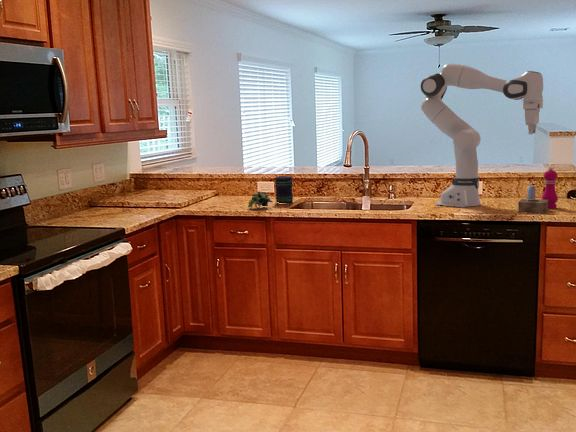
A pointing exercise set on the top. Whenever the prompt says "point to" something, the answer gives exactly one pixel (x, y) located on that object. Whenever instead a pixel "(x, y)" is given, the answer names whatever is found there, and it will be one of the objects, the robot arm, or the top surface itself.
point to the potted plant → (259, 199)
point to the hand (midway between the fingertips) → (532, 133)
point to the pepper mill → (550, 188)
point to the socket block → (533, 206)
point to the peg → (531, 192)
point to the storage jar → (284, 189)
